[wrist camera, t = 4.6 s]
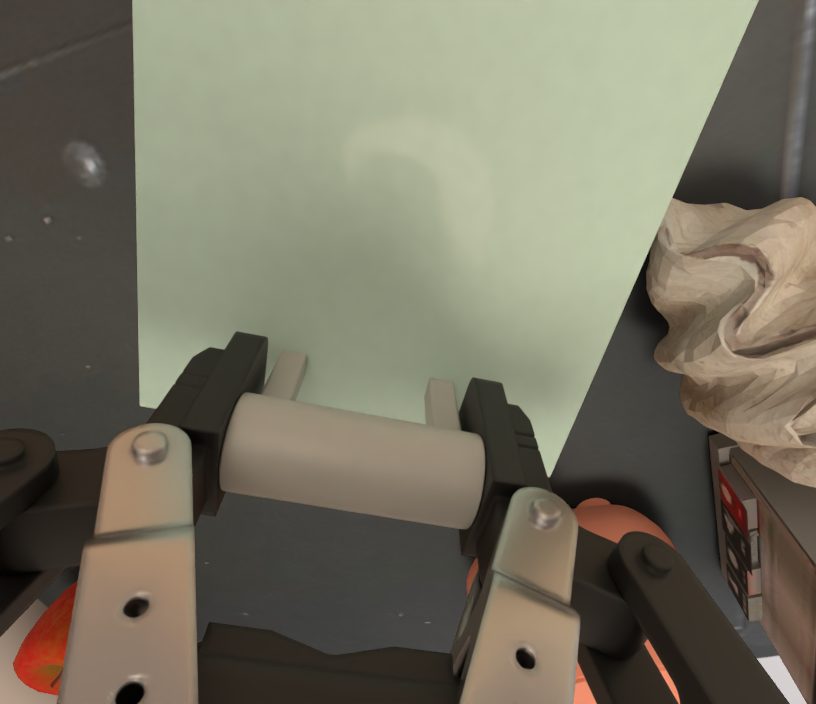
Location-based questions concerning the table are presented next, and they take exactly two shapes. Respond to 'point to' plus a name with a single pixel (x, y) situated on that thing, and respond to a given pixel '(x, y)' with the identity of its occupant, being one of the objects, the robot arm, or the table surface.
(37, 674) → the apple
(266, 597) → the table surface
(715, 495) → the cassette tape recorder
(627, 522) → the teapot
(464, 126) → the lid
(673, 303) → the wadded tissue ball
